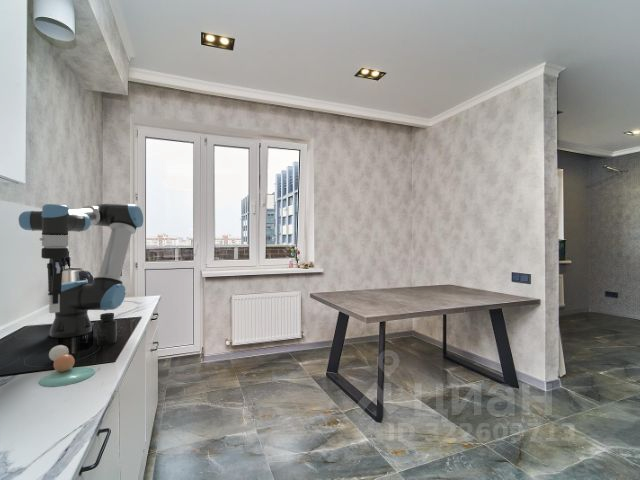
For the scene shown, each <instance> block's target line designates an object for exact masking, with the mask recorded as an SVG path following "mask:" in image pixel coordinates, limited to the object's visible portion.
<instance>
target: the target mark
mask: <svg viewBox="0 0 640 480" xmlns="http://www.w3.org/2000/svg"><path fill="white" fill-rule="evenodd" d="M95 373H96V370H95V368H93V367H88V366H78V367H75V366H74V367H72V368H71V369H70V370H68V371H65V372H58V371H56V370H55V371H53V372H51V373H48V374H46V375H44V376H43V377H41V378H40V379H39V381H38V385H40V386H43V387H53V388H54V387H55V388H56V387H61V386H68V385H73V384H77V383H80V382H82V381H85V380H87V379H90V378H91V377H92V376H94V375H95Z"/></svg>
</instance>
